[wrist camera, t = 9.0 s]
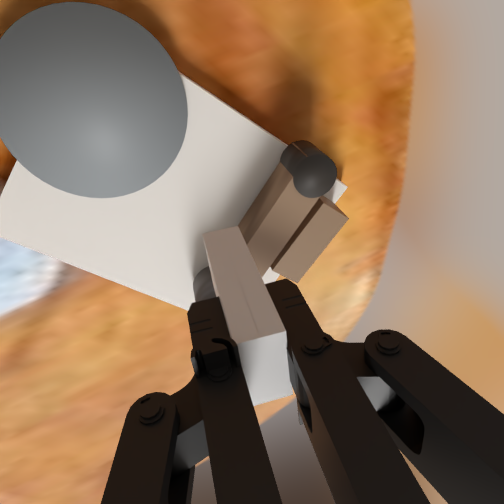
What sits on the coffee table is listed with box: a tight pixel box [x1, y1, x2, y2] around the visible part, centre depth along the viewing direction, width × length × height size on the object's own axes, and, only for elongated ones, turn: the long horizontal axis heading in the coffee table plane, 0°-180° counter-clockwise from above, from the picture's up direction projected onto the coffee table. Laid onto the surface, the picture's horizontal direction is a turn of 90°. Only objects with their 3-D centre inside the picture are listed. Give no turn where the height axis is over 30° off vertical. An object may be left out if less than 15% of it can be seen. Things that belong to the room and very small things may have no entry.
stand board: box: [0, 2, 349, 310], centre depth 27 cm, size 23×16×6 cm
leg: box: [193, 140, 337, 302], centre depth 29 cm, size 14×4×3 cm, turn 146°
